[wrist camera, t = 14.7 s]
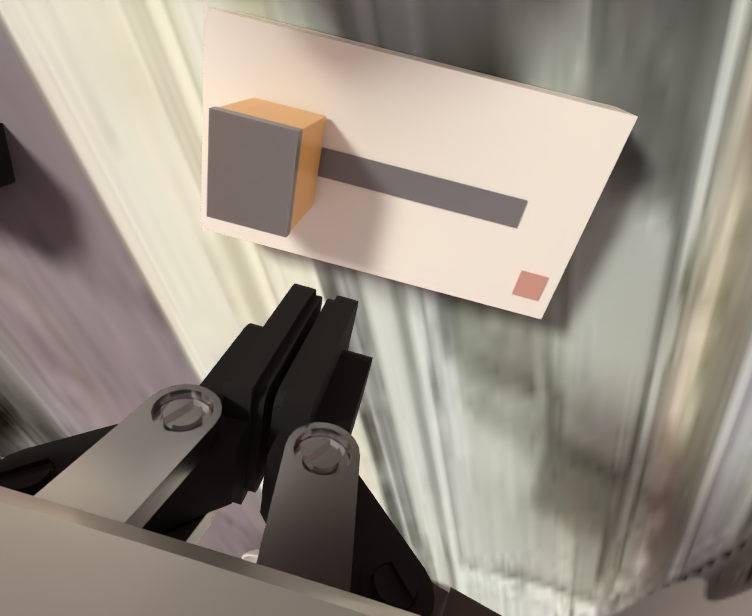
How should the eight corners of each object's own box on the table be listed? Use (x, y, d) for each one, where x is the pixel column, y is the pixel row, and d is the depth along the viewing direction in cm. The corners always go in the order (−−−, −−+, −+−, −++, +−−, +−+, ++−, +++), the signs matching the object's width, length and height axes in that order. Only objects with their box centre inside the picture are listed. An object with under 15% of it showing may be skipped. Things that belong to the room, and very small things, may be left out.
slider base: (614, 106, 26) (638, 116, 23) (532, 289, 32) (541, 320, 29) (237, 11, 27) (203, 7, 23) (228, 208, 33) (200, 228, 29)
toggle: (327, 115, 25) (298, 131, 20) (313, 206, 27) (286, 237, 23) (252, 95, 25) (208, 107, 20) (246, 188, 27) (206, 216, 23)
